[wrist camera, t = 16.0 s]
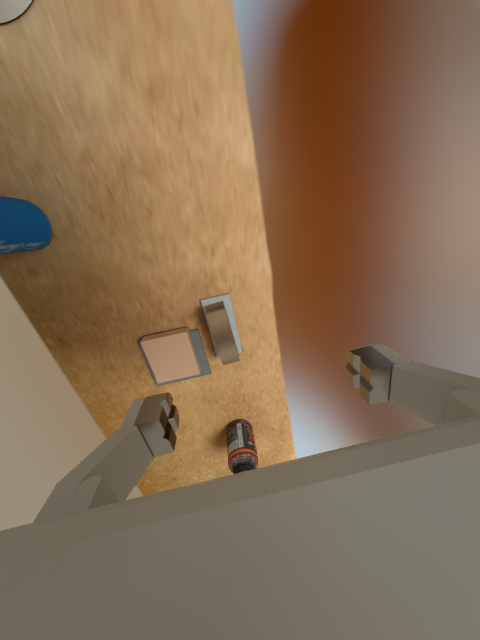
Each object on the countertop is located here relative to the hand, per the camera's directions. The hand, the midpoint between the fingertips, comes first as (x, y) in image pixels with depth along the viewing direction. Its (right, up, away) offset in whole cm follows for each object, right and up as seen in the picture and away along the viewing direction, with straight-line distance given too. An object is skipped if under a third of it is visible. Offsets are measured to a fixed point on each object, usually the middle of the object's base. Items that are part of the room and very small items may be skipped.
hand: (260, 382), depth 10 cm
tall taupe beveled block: (-4, +1, +30) cm, 30 cm away
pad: (-4, +2, +31) cm, 31 cm away
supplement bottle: (-1, -22, +41) cm, 47 cm away
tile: (-14, 0, +28) cm, 31 cm away
